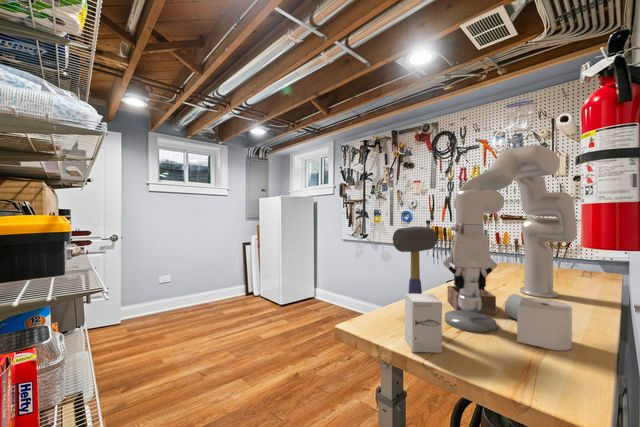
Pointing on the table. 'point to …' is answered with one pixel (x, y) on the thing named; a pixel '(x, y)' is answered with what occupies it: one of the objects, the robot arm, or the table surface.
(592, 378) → the table surface
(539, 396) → the table surface
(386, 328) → the table surface
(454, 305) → the holder
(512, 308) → the ceramic mug
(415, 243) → the rubber mallet
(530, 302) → the toilet tissue
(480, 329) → the plate
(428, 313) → the supplement box
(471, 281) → the plastic bottle
